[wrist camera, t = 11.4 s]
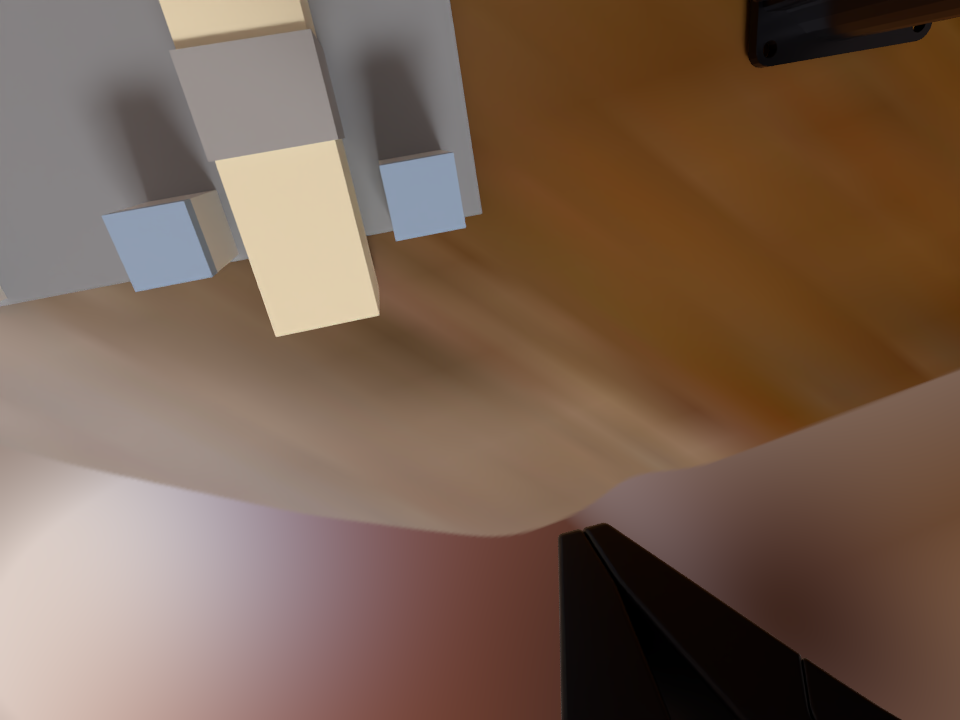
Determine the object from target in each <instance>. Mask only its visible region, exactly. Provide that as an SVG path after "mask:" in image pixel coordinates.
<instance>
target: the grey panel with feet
mask: <svg viewBox="0 0 960 720" xmlns="http://www.w3.org/2000/svg"><path fill="white" fill-rule="evenodd" d="M308 4H309V8H310V12H311V16H312V20H313V24H314V28H315V32H316V36H317V40H318V41H319V43H320V45H321V46H322V48H323V50H324V54H325V58H326V62H327V66H328V70H329V75H330V79H331V83H332V87H333V91H334V95H335V99H336V103H337V107H338V111H339V115H340V119H341V123H342V127H343V131H344V136H345V138H344V139H342V141H343V145H344V149H345V153H346V157H347V161H348V165H349V169H350V173H351V177H352V181H353V185H354V189H355V194H356V198H357V202H358V206H359V210H360V214H361V218H362V222H363V226H364V230H365V234H366V236H368V235H374V234H379V233H384V232H389V231H394V234H395V239H396V241H400V240H405V239H410V238H415V237H420V236H425V235H430V234H436V233H441V232H446V231H451V230H456V229H461V228H466V225H465V219H464V217H467V216H472V215H478V214H482V210H481V203H480V196H479V190H478V183H477V177H476V170H475V164H474V157H473V150H472V144H471V137H470V131H469V124H468V117H467V111H466V104H465V98H464V91H463V85H462V78H461V71H460V65H459V58H458V52H457V45H456V38H455V32H454V25H453V19H452V12H451V6H450V0H308ZM175 49H176V48H175V45H174V42H173V39H172V37H171V34H170V31H169V28H168V25H167V22H166V19H165V16H164V14H163V11H162V8H161V5H160V2H159V0H0V306H5V305H10V304H15V303H20V302H25V301H31V300H36V299H41V298H46V297H51V296H57V295H62V294H67V293H72V292H77V291H83V290H88V289H93V288H98V287H103V286H109V285H114V284H119V283H124V282H129V281H131V283H132V285H133V287H134V290H135V292H137V291H143V290H148V289H153V288H158V287H163V286H168V285H173V284H179V283H184V282H189V281H194V280H199V279H204V278H209V277H213V276H214V275H215V274H216V273H218V272H219V271H220V270H221V269H222V268H223V267H224V266H226V265H227V264H228V263H229V262H233V261H239V260H244V259H249V258H248V255H247V252H246V249H245V246H244V244H243V241H242V238H241V235H240V232H239V229H238V226H237V223H236V221H235V218H234V215H233V212H232V209H231V206H230V203H229V200H228V198H227V195H226V192H225V189H224V186H223V183H222V180H221V177H220V175H219V172H218V169H217V166H216V163H215V161H211V162H208V160H207V157H206V154H205V151H204V148H203V146H202V143H201V140H200V137H199V134H198V131H197V129H196V126H195V123H194V120H193V117H192V114H191V112H190V109H189V106H188V103H187V100H186V97H185V95H184V92H183V89H182V86H181V83H180V80H179V78H178V75H177V72H176V69H175V66H174V63H173V61H172V58H171V55H170V52H169V50H175Z"/></svg>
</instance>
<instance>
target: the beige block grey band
mask: <svg viewBox="0 0 960 720" xmlns="http://www.w3.org/2000/svg"><path fill="white" fill-rule="evenodd" d="M159 2H160V5H161V8H162V11H163V14H164V16H165V19H166V22H167V25H168V28H169V31H170V34H171V37H172V39H173V42H174V45H175V48H176V49H175V50H169V52H170V55H171V58H172V61H173V63H174V66H175V69H176V72H177V75H178V78H179V80H180V83H181V86H182V89H183V92H184V95H185V97H186V100H187V103H188V106H189V109H190V112H191V114H192V117H193V120H194V123H195V126H196V129H197V131H198V134H199V137H200V140H201V143H202V146H203V148H204V151H205V154H206V157H207V160H208V162H211V161H215V163H216V166H217V169H218V172H219V175H220V177H221V180H222V183H223V186H224V189H225V192H226V195H227V198H228V200H229V203H230V206H231V209H232V212H233V215H234V218H235V221H236V223H237V226H238V229H239V232H240V235H241V238H242V241H243V244H244V246H245V249H246V252H247V255H248V258H249V261H250V264H251V267H252V269H253V272H254V275H255V278H256V281H257V284H258V287H259V290H260V292H261V295H262V298H263V301H264V304H265V307H266V310H267V313H268V315H269V318H270V321H271V324H272V327H273V330H274V333H275V336H276V337H278V336H283V335H288V334H293V333H297V332H302V331H307V330H312V329H317V328H321V327H326V326H331V325H336V324H340V323H345V322H350V321H355V320H359V319H364V318H369V317H374V316H379V286H378V282H377V278H376V274H375V270H374V266H373V262H372V258H371V254H370V250H369V246H368V242H367V238H366V234H365V230H364V226H363V222H362V218H361V214H360V210H359V206H358V202H357V198H356V194H355V189H354V185H353V181H352V177H351V173H350V169H349V165H348V161H347V157H346V153H345V149H344V145H343V141H342V139H344V138H345V136H344V131H343V127H342V123H341V119H340V115H339V111H338V107H337V103H336V99H335V95H334V91H333V87H332V83H331V79H330V75H329V70H328V66H327V62H326V58H325V54H324V50H323V48H322V46H321V45H320V43H319V41H318V40H317V36H316V32H315V28H314V24H313V20H312V16H311V12H310V8H309V4H308V0H159Z"/></svg>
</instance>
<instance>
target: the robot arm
mask: <svg viewBox="0 0 960 720" xmlns="http://www.w3.org/2000/svg"><path fill="white" fill-rule="evenodd" d="M956 17H960V0H751V9H750V30H749V50H748V55H749V60H750V62H751V64H752V65H753V66H755V67H758V68H762V67H768V66H774V65H780V64H786V63H791V62H797V61H803V60H809V59H814V58H820V57H826V56H832V55H837V54H843V53H849V52H855V51H861V50H866V49H872V48H878V47H884V46H889V45H895V44H901V43H907V42H912V41H917V40H920V39H922V38H923V37H924V36H925V35H926V34H927V33H928V31H929V29H930V27H931V24H932V22H936V21H941V20H946V19H951V18H956ZM912 26H915V27H914V29H913V27H912ZM766 43H767V44H768V45H769V52H768V55H767V56H766V57H765V56H764V54H763V48H764V45H765V44H766ZM558 556H559V557H558V558H559V606H560V607H559V608H560V609H559V611H560V663H561V711H562V712H561V714H562V715H561V716H562V720H901V719H899V718H898V717H896V716H895V715H893V714H891V713H889V712H888V711H886V710H885V709H883V708H881V707H880V706H878V705H876V704H875V703H873V702H872V701H870V700H869V699H867V698H866V697H864V696H862V695H861V694H859V693H858V692H856V691H855V690H853V689H852V688H850V687H848V686H847V685H845V684H844V683H842V682H841V681H839V680H837V679H836V678H835V677H833V676H832V675H830V674H829V673H827V672H826V671H824V670H823V669H821V668H820V667H818V666H817V665H816V664H814V663H812V662H811V661H810V660H808V659H806V658H803V659H802V660H801V656H800V654H799V653H797V652H796V651H794V650H793V649H791V648H790V647H789V646H787V645H786V644H784V643H783V642H781V641H780V640H778V639H777V638H775V637H774V636H772V635H771V634H769V633H768V632H767V631H765V630H763V629H762V628H760V627H759V626H757V625H756V624H755V623H753V622H752V621H750V620H749V619H747V618H746V617H744V616H743V615H741V614H740V613H738V612H737V611H736V610H734V609H733V608H731V607H730V606H728V605H727V604H725V603H724V602H722V601H721V600H719V599H718V598H716V597H715V596H714V595H712V594H710V593H709V592H708V591H706V590H705V589H703V588H702V587H700V586H699V585H697V584H696V583H694V582H693V581H691V580H690V579H688V578H687V577H685V576H684V575H683V574H681V573H680V572H678V571H677V570H675V569H674V568H672V567H671V566H669V565H668V564H666V563H665V562H663V561H662V560H660V559H659V558H657V557H656V556H655V555H653V554H652V553H650V552H649V551H647V550H646V549H644V548H643V547H641V546H640V545H638V544H637V543H635V542H634V541H633V540H631V539H630V538H628V537H627V536H625V535H623V534H622V533H621V532H619V531H618V530H616V529H615V528H613V527H612V526H610V525H609V524H606V523H601V524H597V525H593V526H589V527H586V528H584V530H583V531H582V530H579V529H577V530H573V531H570V532H566V533H562V534H560V535H559V537H558Z"/></svg>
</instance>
